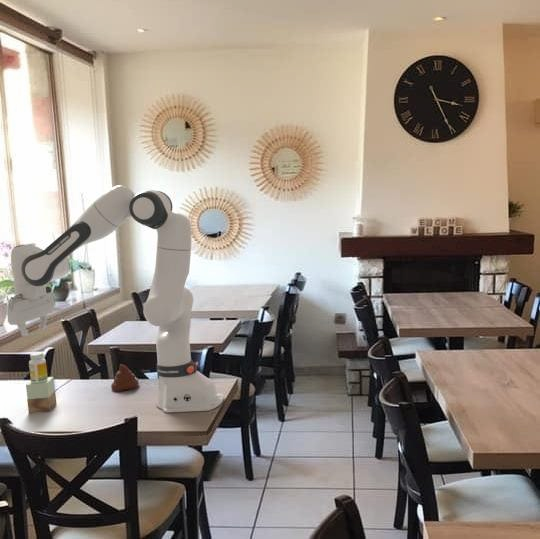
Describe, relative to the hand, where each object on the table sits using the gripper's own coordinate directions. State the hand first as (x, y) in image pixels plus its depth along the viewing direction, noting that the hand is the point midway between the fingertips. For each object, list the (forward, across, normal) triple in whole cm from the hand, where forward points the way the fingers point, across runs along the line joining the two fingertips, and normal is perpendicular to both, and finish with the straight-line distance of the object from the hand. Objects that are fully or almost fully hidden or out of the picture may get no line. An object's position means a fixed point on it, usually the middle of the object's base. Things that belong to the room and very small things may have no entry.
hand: (34, 332), depth 195 cm
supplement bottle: (+17, 0, 0) cm, 17 cm away
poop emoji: (+28, +23, -19) cm, 40 cm away
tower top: (+22, 0, 0) cm, 22 cm away
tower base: (+27, 0, 0) cm, 27 cm away
